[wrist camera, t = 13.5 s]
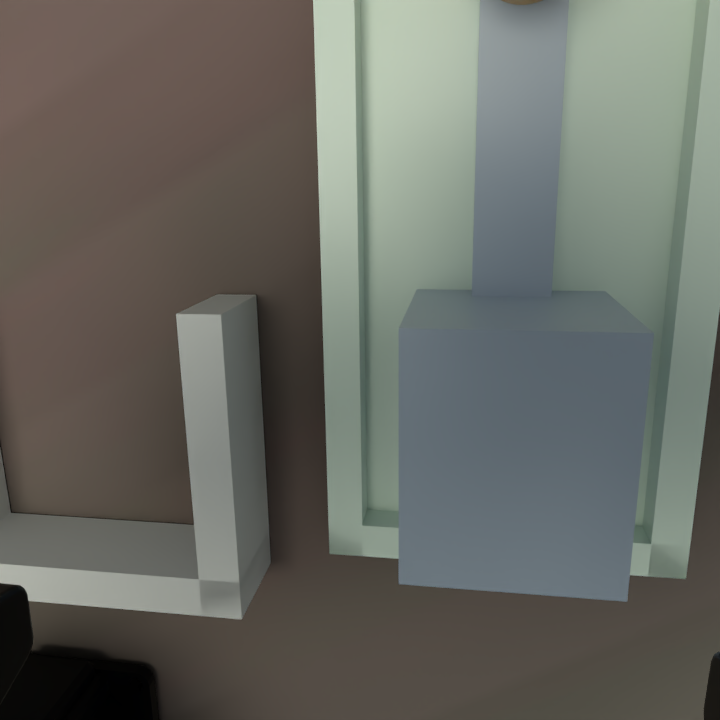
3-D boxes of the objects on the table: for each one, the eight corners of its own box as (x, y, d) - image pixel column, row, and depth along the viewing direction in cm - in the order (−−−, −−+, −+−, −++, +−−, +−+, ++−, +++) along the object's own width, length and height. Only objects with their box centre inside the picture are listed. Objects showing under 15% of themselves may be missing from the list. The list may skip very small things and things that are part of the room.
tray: (670, 550, 20) (685, 578, 19) (338, 528, 22) (329, 553, 20) (771, -318, 15) (804, -371, 13) (318, -266, 16) (304, -307, 15)
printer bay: (270, 562, 22) (241, 619, 20) (-16, 541, 24) (-81, 591, 21) (256, 294, 20) (220, 314, 17) (-60, 291, 22) (-140, 308, 19)
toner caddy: (588, 497, 20) (627, 601, 15) (415, 488, 20) (398, 584, 16) (637, -106, 16) (710, -228, 11) (419, -90, 16) (399, -198, 12)
